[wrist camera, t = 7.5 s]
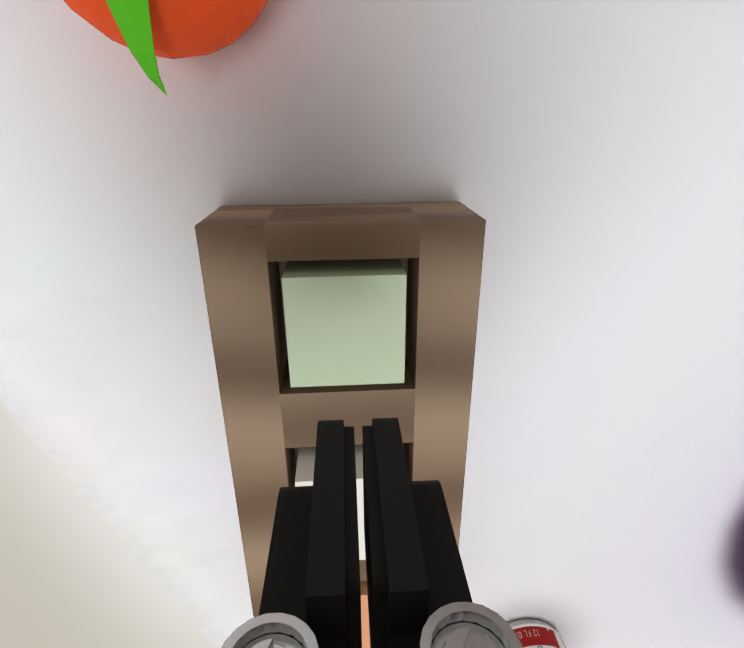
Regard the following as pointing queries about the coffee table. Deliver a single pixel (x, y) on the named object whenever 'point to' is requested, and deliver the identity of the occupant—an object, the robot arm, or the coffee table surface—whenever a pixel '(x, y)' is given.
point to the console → (344, 402)
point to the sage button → (345, 321)
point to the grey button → (306, 479)
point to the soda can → (536, 634)
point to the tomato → (169, 26)
